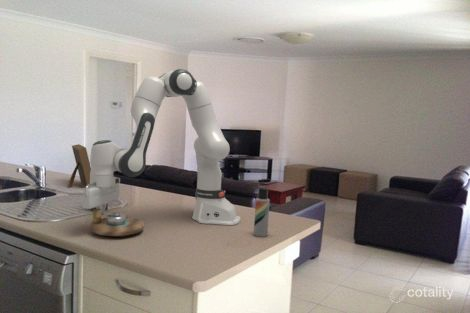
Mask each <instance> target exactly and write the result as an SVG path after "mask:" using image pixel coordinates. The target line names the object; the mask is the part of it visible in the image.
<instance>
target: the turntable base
mask: <svg viewBox="0 0 470 313" xmlns="http://www.w3.org/2000/svg"><path fill="white" fill-rule="evenodd" d="M132 235H133V234H130V235H123V236H106V235H101V236H103V237H107V238H123V237H128V236H132Z"/></svg>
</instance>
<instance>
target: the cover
mask: <svg viewBox="0 0 470 313" xmlns="http://www.w3.org/2000/svg"><path fill="white" fill-rule="evenodd" d="M125 217H126V214H123V213H121V212H112V213H111V214H107V215H106V218H107V225H111V226H120V225H124V224H125Z"/></svg>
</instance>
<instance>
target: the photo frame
mask: <svg viewBox="0 0 470 313" xmlns="http://www.w3.org/2000/svg"><path fill="white" fill-rule="evenodd" d="M71 148H72V152H73V156H74V161H75V164H76V165H75V167H74V169H73V172H72V174H71V175H70V176H71V177H69V181H68V185H67V188H68V189H69V188H71V187H73V184H74V181H75V178H76V175H77V172H78V175H79V179H80V183H81V184H82V185H84V187H86V186H87V185H88V184H90V171H91V164H90V158H89V155H88V154H89V153H88V151H87V147H86V146H84V145H81V144H80V143H78V144H74V145H71Z"/></svg>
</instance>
